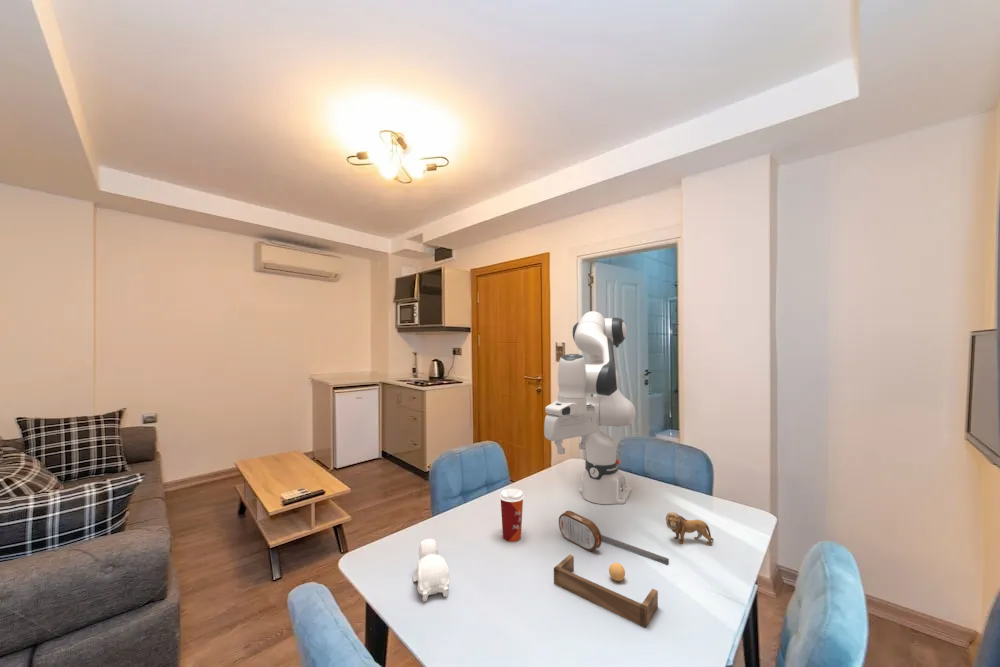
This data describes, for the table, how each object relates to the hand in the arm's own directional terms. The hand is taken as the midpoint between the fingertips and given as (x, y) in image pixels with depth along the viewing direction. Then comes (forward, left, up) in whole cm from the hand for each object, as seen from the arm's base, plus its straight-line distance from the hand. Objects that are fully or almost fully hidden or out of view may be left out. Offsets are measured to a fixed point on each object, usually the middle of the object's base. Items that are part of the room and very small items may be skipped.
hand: (572, 451), depth 119 cm
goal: (+18, +18, -27) cm, 37 cm away
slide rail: (-6, +10, -27) cm, 30 cm away
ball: (+10, +18, -25) cm, 33 cm away
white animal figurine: (+42, -17, -28) cm, 53 cm away
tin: (+1, +2, -28) cm, 28 cm away
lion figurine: (-22, +28, -28) cm, 45 cm away
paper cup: (+11, -16, -28) cm, 33 cm away
